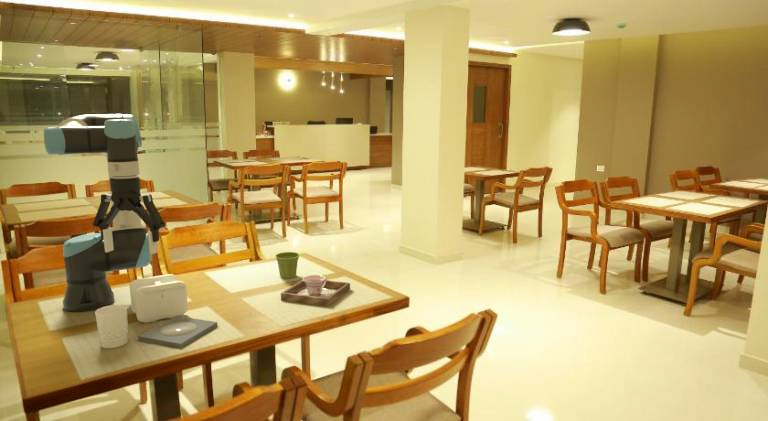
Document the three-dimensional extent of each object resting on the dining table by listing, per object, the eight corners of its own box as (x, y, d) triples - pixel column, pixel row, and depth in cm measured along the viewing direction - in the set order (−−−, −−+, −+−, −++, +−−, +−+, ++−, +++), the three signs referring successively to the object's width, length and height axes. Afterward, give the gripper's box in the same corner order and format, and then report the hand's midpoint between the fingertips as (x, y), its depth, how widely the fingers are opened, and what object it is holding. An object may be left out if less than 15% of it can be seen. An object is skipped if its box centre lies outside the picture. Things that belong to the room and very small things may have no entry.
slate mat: (138, 339, 152) (137, 335, 152) (177, 319, 167) (177, 315, 166) (180, 347, 147) (180, 343, 147) (217, 325, 162) (217, 321, 161)
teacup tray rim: (281, 300, 184) (280, 293, 183) (306, 284, 200) (305, 277, 200) (328, 306, 177) (328, 299, 177) (350, 289, 194) (350, 282, 194)
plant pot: (305, 275, 211) (304, 254, 209) (289, 281, 203) (288, 259, 201) (287, 271, 216) (286, 250, 214) (270, 277, 208) (270, 256, 206)
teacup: (308, 303, 181) (308, 286, 180) (291, 294, 190) (290, 277, 189) (338, 295, 188) (337, 279, 187) (319, 287, 197) (319, 271, 196)
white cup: (117, 350, 145) (113, 316, 143) (92, 348, 147) (88, 313, 145) (136, 338, 153) (133, 305, 151) (111, 336, 154) (108, 303, 152)
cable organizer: (181, 305, 179) (178, 272, 176) (189, 315, 170) (186, 280, 168) (132, 315, 171) (128, 280, 168) (137, 326, 162) (134, 289, 160)
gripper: (73, 177, 144) (81, 253, 148) (159, 179, 140) (165, 257, 144) (92, 174, 151) (100, 246, 155) (174, 175, 148) (180, 250, 152)
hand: (131, 252), depth 150 cm, fingers open, 13 cm apart
